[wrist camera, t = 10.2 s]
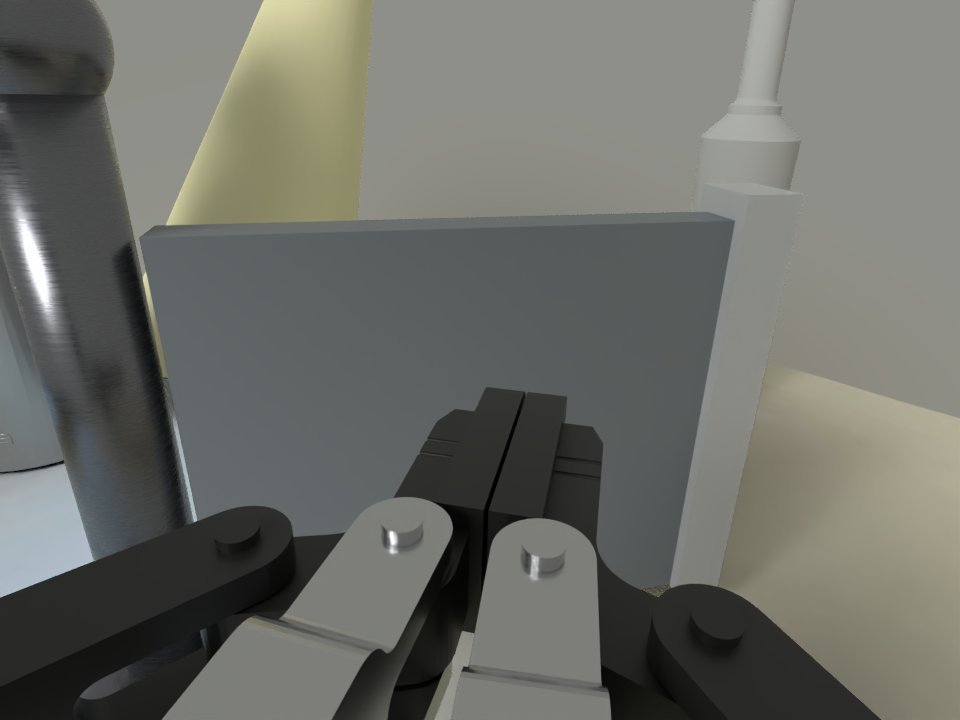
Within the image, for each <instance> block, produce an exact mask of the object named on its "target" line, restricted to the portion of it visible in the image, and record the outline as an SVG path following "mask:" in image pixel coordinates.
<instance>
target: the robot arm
mask: <svg viewBox="0 0 960 720" xmlns="http://www.w3.org/2000/svg"><path fill="white" fill-rule="evenodd" d="M566 409H567V396H558V395H550V394H542V393H534V392H528V393H527V395H526V393H525V391H517V390H509V389H501V388H492V387H486V388H485V390H484V392H483V394H482V396H481V399H480V401H479V403H478V405H477V407H476V409H475V411H468V410H460V409H454V410H453V411H451V412H450V413H448V414H447V415H445V416H444V417H442V418H441V419H439V420H438V421H437V422H436V423H435V425H434V427H433V429H432V431H431V432H430V434H429V436H428V439H427V441H425V443H424V445H423V446H422V448H421V450H420V454H418V455H417V457H416V459H415V461H414V462H413V464H412V466H411V468H410V469H409V471H408V473H407V475H406V476H405V478H404V480H403V482H402V484H401V485H400V487H399V489H398V491H397V492H396V494H395V496H394V498H392V499H387V500H384V501H381V502H378V503H376V504H374V505H372V506H370V507H368V508H367V509H366V510H364V511H363V512H362V513H361V514H360V515H359V516H358V517H357V518H356V520H355V521H354V522H353V524H352V525H351V526H350V528H349V529H348V530H347V532H343V533H338V534H329V535H314V536H299V537H293V530H292V525H291V522H290V520H289V519H288V517H287V516H286V515H284V514H283V513H282V512H280V511H278V510H276V509H273V508H270V507H265V506H243V507H236V508H232V509H228V510H225V511H222V512H220V513H217V514H214V515H212V516H209V517H207V518H204V519H202V520H199V521H196V522H194V523H191V524H189V525H186V526H184V527H181V528H178V529H176V530H173V531H171V532H168V533H166V534H163V535H160V536H158V537H155V538H153V539H150V540H148V541H145V542H142V543H140V544H137V545H135V546H132V547H130V548H127V549H124V550H122V551H119V552H117V553H114V554H112V555H109V556H106V557H104V558H101V559H99V560H96V561H94V562H91V563H88V564H86V565H83V566H81V567H78V568H76V569H73V570H70V571H68V572H65V573H63V574H60V575H58V576H55V577H52V578H50V579H47V580H45V581H42V582H40V583H37V584H34V585H32V586H29V587H27V588H24V589H22V590H19V591H16V592H14V593H11V594H9V595H6V596H4V597H1V598H0V720H434V719H435V717H436V714H437V712H438V709H439V707H440V704H441V702H442V699H443V696H444V694H445V691H446V689H447V686H448V684H449V681H450V678H451V674H452V659H453V656H454V654H455V651H456V648H457V645H458V641H459V638H460V635H461V632H462V631H466V632H471V633H475V634H474V640H473V645H472V650H471V656H470V661H469V665H468V667H463V669H462V671H461V675H460V678H459V682H458V687H457V692H456V697H455V702H454V707H453V712H452V717H451V720H881V719H880V718H879V717H878V716H876V715H875V714H874V713H873V712H872V711H871V710H870V709H869V708H868V707H866V706H865V705H864V704H863V703H862V702H861V701H860V700H859V699H858V698H856V697H855V696H854V695H853V694H852V693H851V692H850V691H849V690H848V689H847V688H845V687H844V686H843V685H842V684H841V683H840V682H839V681H838V680H837V679H835V678H834V677H833V676H832V675H831V674H830V673H829V672H828V671H827V670H825V669H824V668H823V667H822V666H821V665H820V664H819V663H818V662H817V661H815V660H814V659H813V658H812V657H811V656H810V655H809V654H808V653H807V652H806V651H804V650H803V649H802V648H801V647H800V646H799V645H798V644H797V643H796V642H794V641H793V640H792V639H791V638H790V637H789V636H788V635H787V634H786V633H784V632H783V631H782V630H781V629H780V628H779V627H778V626H777V625H776V624H774V623H773V622H772V621H771V620H770V619H769V618H768V617H767V616H766V615H765V614H763V613H762V612H761V611H760V610H759V609H758V608H756V607H755V606H754V605H753V604H751V603H750V602H749V601H747V600H746V599H744V598H742V597H741V596H739V595H737V594H735V593H733V592H731V591H728V590H725V589H723V588H720V587H716V586H712V585H706V584H684V585H679V586H676V587H673V588H671V589H669V590H667V591H666V592H664V593H663V594H662V595H661V596H660V597H659V598H658V597H656V596H653V595H651V594H649V593H647V592H644V591H642V590H640V589H638V588H636V587H634V586H632V585H630V584H628V583H626V582H625V581H623V580H622V579H620V578H619V577H618V576H617V575H615V574H614V573H613V572H612V571H611V570H610V569H609V568H608V567H607V566H606V564H605V563H604V561H603V560H602V558H601V556H600V554H599V552H598V548H597V542H596V537H597V524H598V511H599V497H600V484H601V471H602V457H603V442H602V441H601V439H600V437H599V436H598V434H597V433H596V431H595V429H594V428H593V427H591V426H583V425H575V424H568V423H565V419H566ZM63 460H64V459H63V456H62V452H61V449H60V446H59V442H58V439H57V436H56V432H55V429H54V426H53V422H52V419H51V415H50V412H49V409H48V405H47V402H46V399H45V395H44V392H43V389H42V385H41V382H40V379H39V375H38V372H37V369H36V365H35V362H34V359H33V355H32V352H31V349H30V345H29V342H28V339H27V335H26V332H25V329H24V325H23V322H22V319H21V315H20V312H19V308H18V305H17V302H16V298H15V295H14V292H13V288H12V285H11V282H10V278H9V275H8V272H7V268H6V265H5V262H4V258H3V255H2V252H1V248H0V472H7V471H18V470H23V469H29V468H35V467H40V466H44V465H48V464H52V463H56V462H60V461H63ZM198 631H200V633H201V638H202V642H203V646H204V647H203V648H201V649H200V650H198V651H196V652H194V653H192V654H190V655H188V656H186V657H184V658H182V659H180V660H178V661H176V662H174V663H172V664H170V665H168V666H166V667H164V668H162V669H160V670H158V671H156V672H154V673H152V674H150V675H148V676H146V677H144V678H142V679H140V680H138V681H136V682H134V683H132V684H130V685H128V686H127V687H125V688H123V689H121V690H119V691H117V692H115V693H113V694H111V695H108V696H106V697H103V698H99V699H84V698H81V697H80V696H81V694H82V693H83V692H84V691H85V690H86V689H87V688H89V687H90V686H91V685H92V684H94V683H95V682H97V681H99V680H100V679H102V678H104V677H106V676H108V675H110V674H112V673H114V672H116V671H118V670H121V669H123V668H125V667H127V666H129V665H131V664H133V663H135V662H137V661H139V660H141V659H143V658H145V657H147V656H149V655H151V654H153V653H155V652H157V651H159V650H161V649H163V648H165V647H167V646H170V645H172V644H174V643H176V642H178V641H180V640H182V639H184V638H186V637H188V636H190V635H192V634H194V633H196V632H198Z"/></svg>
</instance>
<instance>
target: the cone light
mask: <svg viewBox="0 0 960 720" xmlns="http://www.w3.org/2000/svg"><path fill="white" fill-rule="evenodd" d="M372 10H373V0H264V1H263V3H262V6H261V8H260V10H259V13H258V15H257V17H256V20H255V22H254V24H253V26H252V29H251V31H250V33H249V35H248V38H247V40H246V42H245V45H244V47H243V49H242V51H241V54H240V56H239V58H238V61H237V63H236V65H235V68H234V70H233V72H232V75H231V77H230V79H229V81H228V84H227V86H226V88H225V90H224V93H223V95H222V97H221V100H220V102H219V105H218V107H217V109H216V111H215V113H214V116H213V118H212V120H211V123H210V125H209V127H208V129H207V132H206V134H205V136H204V139H203V141H202V143H201V146H200V148H199V150H198V152H197V155H196V158H195V159H194V162H193V164H192V166H191V169H190V171H189V174H188V175H187V178H186V180H185V182H184V185H183V187H182V189H181V191H180V194H179V196H178V198H177V201H176V203H175V205H174V208H173V210H172V212H171V214H170V217H169V219H168V221H167V224H166V225H201V224H240V223H280V222H319V221H358V208H359V194H360V179H361V165H362V151H363V137H364V122H365V109H366V94H367V81H368V66H369V52H370V39H371V23H372ZM143 283H144V287H145V292H146V297H147V302H148V306H149V311H150V316H151V321H152V325H153V330H154V335H155V340H156V345H157V349H158V354H159V359H160V364H161V368H162V373H163V377H164V378H168V375H167V370H166V365H165V361H164V356H163V351H162V346H161V341H160V336H159V332H158V327H157V322H156V317H155V312H154V307H153V302H152V298H151V293H150V288H149V283H148V278H147V273H146V272H145V274H144V276H143Z"/></svg>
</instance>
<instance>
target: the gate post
mask: <svg viewBox="0 0 960 720" xmlns="http://www.w3.org/2000/svg"><path fill="white" fill-rule="evenodd" d="M113 68H114V48H113V41H112V37H111V33H110V30H109V28H108V25H107V23H106V20H105V18H104V16H103V14H102V12H101V10H100V8H99V7H98V5H97V4H96V2H95V1H94V0H0V248H1V252H2V255H3V258H4V262H5V265H6V268H7V272H8V275H9V278H10V282H11V285H12V288H13V292H14V295H15V298H16V302H17V305H18V308H19V312H20V315H21V319H22V322H23V325H24V329H25V332H26V335H27V339H28V342H29V345H30V349H31V352H32V355H33V359H34V362H35V365H36V369H37V372H38V375H39V379H40V382H41V385H42V389H43V392H44V395H45V399H46V402H47V405H48V409H49V412H50V415H51V419H52V422H53V426H54V429H55V432H56V436H57V439H58V442H59V446H60V449H61V452H62V456H63V459H64V462H65V466H66V469H67V472H68V476H69V479H70V482H71V486H72V489H73V492H74V496H75V499H76V502H77V506H78V509H79V512H80V516H81V519H82V523H83V526H84V529H85V533H86V536H87V539H88V543H89V546H90V549H91V553H92V556H93V559H94V561H96V560H99V559H101V558H104V557H106V556H109V555H112V554H114V553H117V552H119V551H122V550H124V549H127V548H130V547H132V546H135V545H137V544H140V543H142V542H145V541H148V540H150V539H153V538H155V537H158V536H160V535H163V534H166V533H168V532H171V531H173V530H176V529H178V528H181V527H184V526H186V525H189V524H191V523H194V521H193V516H192V511H191V507H190V502H189V497H188V492H187V488H186V483H185V478H184V473H183V468H182V464H181V459H180V454H179V449H178V445H177V440H176V435H175V430H174V426H173V421H172V416H171V411H170V407H169V402H168V397H167V392H166V387H165V383H164V378H163V373H162V368H161V364H160V359H159V354H158V349H157V345H156V340H155V335H154V330H153V325H152V321H151V316H150V311H149V306H148V302H147V297H146V292H145V287H144V283H143V278H142V273H141V268H140V264H139V259H138V254H137V249H136V245H135V240H134V235H133V230H132V226H131V221H130V216H129V211H128V206H127V202H126V197H125V192H124V188H123V183H122V178H121V173H120V168H119V163H118V159H117V154H116V149H115V144H114V140H113V135H112V130H111V125H110V121H109V116H108V111H107V106H106V101H105V97H104V94H105V92H106V90H107V88H108V86H109V84H110V81H111V78H112V74H113ZM203 647H204V646H203V642H202V638H201V633H200V631H198V632H196V633H194V634H192V635H190V636H188V637H186V638H184V639H182V640H180V641H178V642H176V643H174V644H172V645H170V646H167V647H165V648H163V649H161V650H159V651H157V652H155V653H153V654H151V655H149V656H147V657H145V658H143V659H141V660H139V661H137V662H135V663H133V664H131V665H129V666H127V667H125V668H123V669H121V670H118V671H116V672H114V673H112V674H110V675H108V676H106V677H104V678H102V679H100V680H99V681H97V682H95V683H94V684H92V685H91V686H90V687H89V688H87V689H86V690H85V691H84V692H83V693H82V694H81V696H80V697H81V698H84V699H99V698H103V697H106V696H108V695H111V694H113V693H115V692H117V691H119V690H121V689H123V688H125V687H127V686H128V685H130V684H132V683H134V682H136V681H138V680H140V679H142V678H144V677H146V676H148V675H150V674H152V673H154V672H156V671H158V670H160V669H162V668H164V667H166V666H168V665H170V664H172V663H174V662H176V661H178V660H180V659H182V658H184V657H186V656H188V655H190V654H192V653H194V652H196V651H198V650H200V649H201V648H203Z"/></svg>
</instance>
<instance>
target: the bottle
mask: <svg viewBox="0 0 960 720" xmlns="http://www.w3.org/2000/svg"><path fill="white" fill-rule="evenodd" d="M753 1H754V3H753V9H752V14H751V20H750V26H749V32H748V38H747V44H746V49H745V56H744V62H743V67H742V73H741V78H740V84H739V90H738V96H737V99H736V100H735V102H733V103H732V104H730V105H729V109H728V114H727V115H726V116H724V117H723V118H722V119H721V120H720V121H718V122H717V123H716V124H715V125H714V126H712V127H711V128H710V129H709V130H707V131H706V132H705V133H704V134H703V135H702V136H701V137H700V145H699V152H698V161H697V168H696V176H695V183H694V191H693V199H692V207H691V212H700V205H701V199H702V192H703V186H704V184H721V183H756V184H760V185H765V186H770V187H774V188H779V189H783V190H788V191H790V187H791V182H792V178H793V173H794V169H795V164H796V161H797V156H798V152H799V147H800V144H801V140H800V138H799V137H798V136H797V135H796V134H795V132H794V131H793V130H792V129H791V128H790V126H789V125H788V124H787V122H786V121H785V120H784V119H783V118H782V116H781V110H782V106H781V105H780V104H779V103H778V102H777V93H778V87H779V82H780V77H781V72H782V66H783V61H784V56H785V51H786V45H787V40H788V35H789V29H790V24H791V18H792V13H793V8H794V2H795V0H753Z"/></svg>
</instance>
